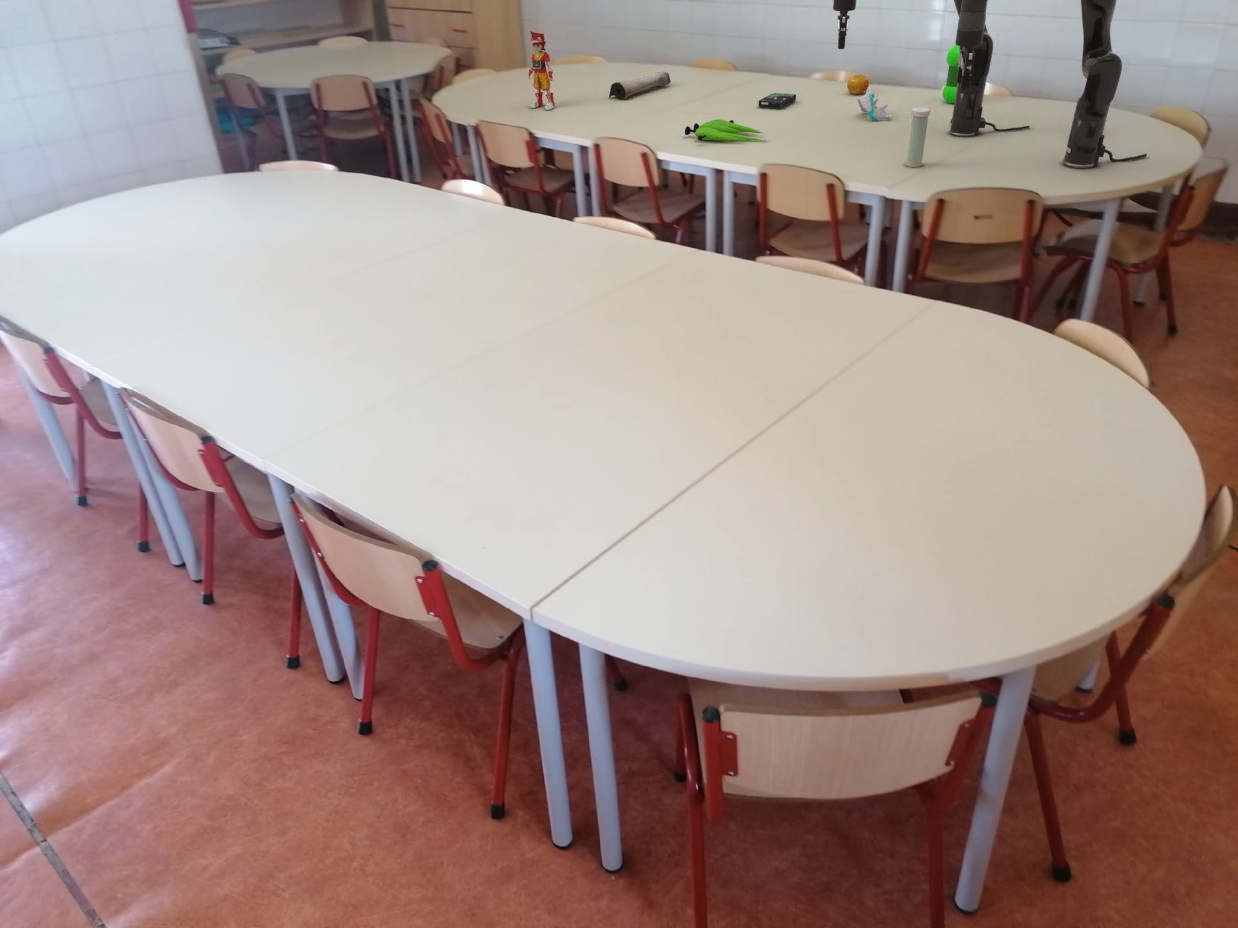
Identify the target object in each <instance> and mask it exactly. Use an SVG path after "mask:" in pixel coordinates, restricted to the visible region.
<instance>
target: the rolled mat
mask: <svg viewBox="0 0 1238 928" xmlns="http://www.w3.org/2000/svg"><path fill="white" fill-rule="evenodd" d="M671 83H672V81H671V77H670V74H669V72H668V71H658V72H654V73H649V74H645V75H640V76H637V77H633V78H628V79H623V80H620V81H616V82H613V83H612V84H611V85H610V89H609V95H608V97H609V98H611V97H616V99H620V100H622V101H623V100H626V99H627V98H629V97H630V96H632V95H635V94H636V93H638V92H640V91H643V90H644V89H647V88H650V87H655V86H658V87H659V86H661V87H665V86H669V85H670V84H671Z"/></svg>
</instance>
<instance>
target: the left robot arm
mask: <svg viewBox="0 0 1238 928" xmlns="http://www.w3.org/2000/svg"><path fill="white" fill-rule="evenodd" d="M953 4H954V6H955V10H956V11H957V16H958V17H959V16H960V13H961V6H962V0H953ZM856 8H857V0H833V3H832V10H833V11H835V12H839V15H837V20H836V21H837V22H836V23H837V31H838V33H837V34H838V35H837V37H838V39H837V44H838V45H837V49H838V50H844V49H845V46H846V37H847V35H848V33H847V31H848V30H849V23H850V17H851V16H850V15H848V13H849V12H851V11H855V10H856ZM973 51H974V52H975V54H976V55H975V60H974V67H973V74H972V75H971V76H970V81H969V88H968V89H961V83H957V90H956V96H955V103H953V110H952V115H951V119H950V121H949V122H950V123H949V124H950V129H949V134H950V135H952V136H956V137H973V136H979V131H980V129H985V128H986V125H987V126H991V127H992V129H993V130H994V131H995V132H1010V131H1018V130H1019V131H1020V130H1025V129H1030V125H1023V126H1017V127H1010V128H1009V127H1008V128H998V127H997V128H996V125H995V124H994V123H992V122H988V121H986V119H985V117H984V116H983V117H982V115H983V109H984V107H983V102H984V96H985V90H986V83H987V79H988V76H989V73H990V67H991V62H992V56H993V53H994V40H993V38H992V36H991V35H990V33H989V32H988V27H987V25H986V24H985V27H984V34H983V40H982V44H981V45H979V46H975V47H974V48H973ZM966 70H969V69H966Z"/></svg>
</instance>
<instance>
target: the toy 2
mask: <svg viewBox="0 0 1238 928" xmlns="http://www.w3.org/2000/svg"><path fill="white" fill-rule="evenodd" d="M692 128H693V129H691V127H690V126H689V125H687V126H686V127H685V129H684V135H685V136H689V135H690V134H691V133H694V136H695V137H697V140H698V141H699V142H701V141H703V140H707V141H729V142H730V141H731V142H742V141H743V142H748V141H755V142H756V141H758V142H761V141H763V142H766V141H767V140H766V139H765V140H764V139H761V138H756V137H751V136H746V135H741V133H752V134H762V135H763V134H764V132H762V131H760V130H758V129H754V128H752V127H750V126H749V127H748V126H745V125H741V124H737V123H735V121H734V120H733V119H730V120H729V121H727V120H724V119H712V120H709V121H707V122H703V123H702V124H701V125H700V124H699V123H696V122H695V123H694V125H693V127H692Z"/></svg>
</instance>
